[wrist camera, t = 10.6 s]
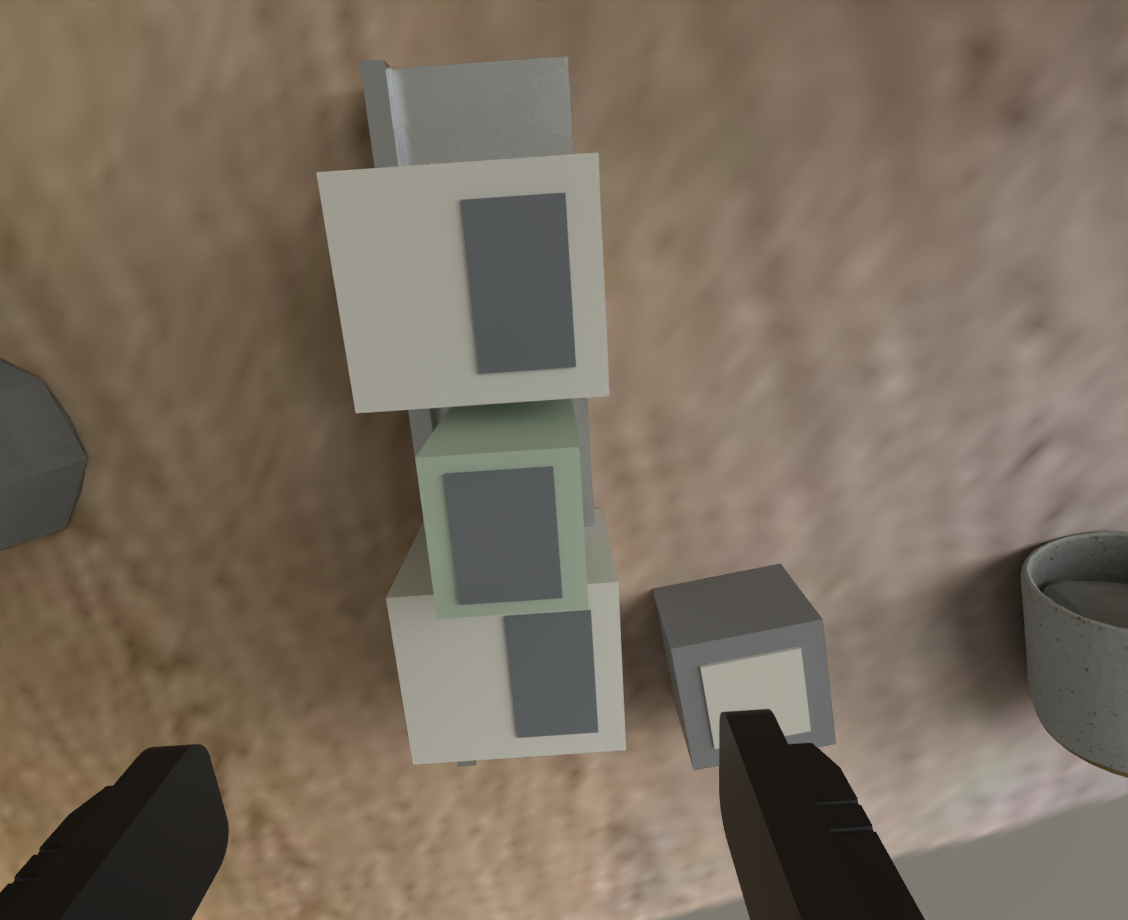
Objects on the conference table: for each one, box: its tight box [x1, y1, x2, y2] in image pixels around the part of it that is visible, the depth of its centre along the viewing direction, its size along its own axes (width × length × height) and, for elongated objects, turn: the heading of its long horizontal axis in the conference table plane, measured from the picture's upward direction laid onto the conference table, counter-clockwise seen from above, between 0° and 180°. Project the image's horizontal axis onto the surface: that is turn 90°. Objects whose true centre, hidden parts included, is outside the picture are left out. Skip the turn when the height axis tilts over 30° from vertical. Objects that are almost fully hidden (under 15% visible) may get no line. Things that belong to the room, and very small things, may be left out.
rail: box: [360, 56, 595, 766], centre depth 27 cm, size 7×28×3 cm, turn 4°
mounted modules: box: [316, 153, 626, 765], centre depth 25 cm, size 8×20×7 cm, turn 4°
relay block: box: [653, 564, 836, 770], centre depth 29 cm, size 6×6×5 cm
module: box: [415, 398, 589, 619], centre depth 22 cm, size 4×5×8 cm
